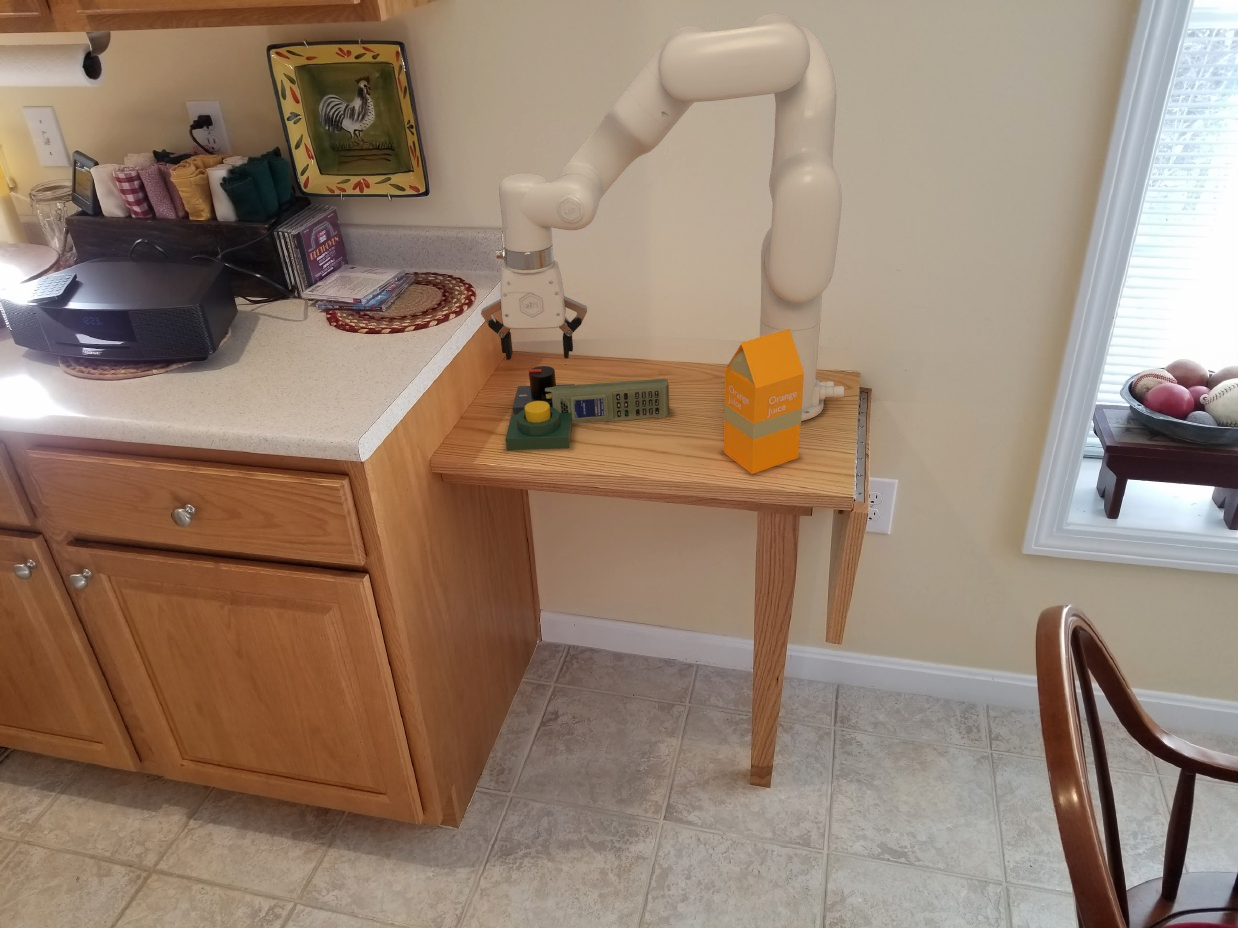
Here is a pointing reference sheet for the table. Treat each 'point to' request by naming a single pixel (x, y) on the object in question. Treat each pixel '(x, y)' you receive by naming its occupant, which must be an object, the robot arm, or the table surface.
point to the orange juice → (763, 402)
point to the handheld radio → (612, 400)
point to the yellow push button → (537, 411)
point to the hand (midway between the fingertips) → (538, 355)
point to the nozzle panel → (525, 398)
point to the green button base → (539, 432)
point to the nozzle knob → (541, 381)
